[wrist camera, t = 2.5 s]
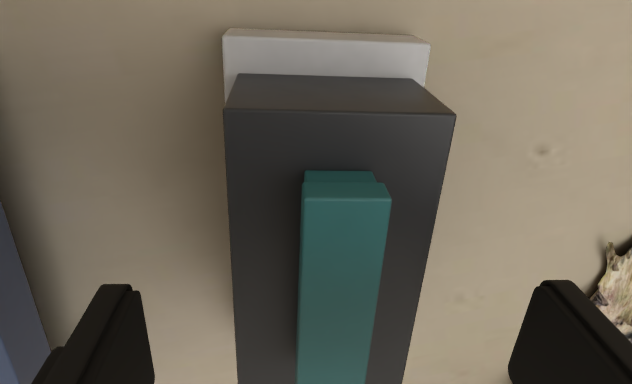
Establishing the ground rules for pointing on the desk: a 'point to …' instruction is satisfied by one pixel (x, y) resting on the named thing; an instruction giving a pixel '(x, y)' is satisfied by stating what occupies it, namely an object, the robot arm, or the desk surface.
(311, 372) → the iron
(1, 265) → the blue rectangular board
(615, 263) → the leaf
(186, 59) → the desk surface
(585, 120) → the desk surface
